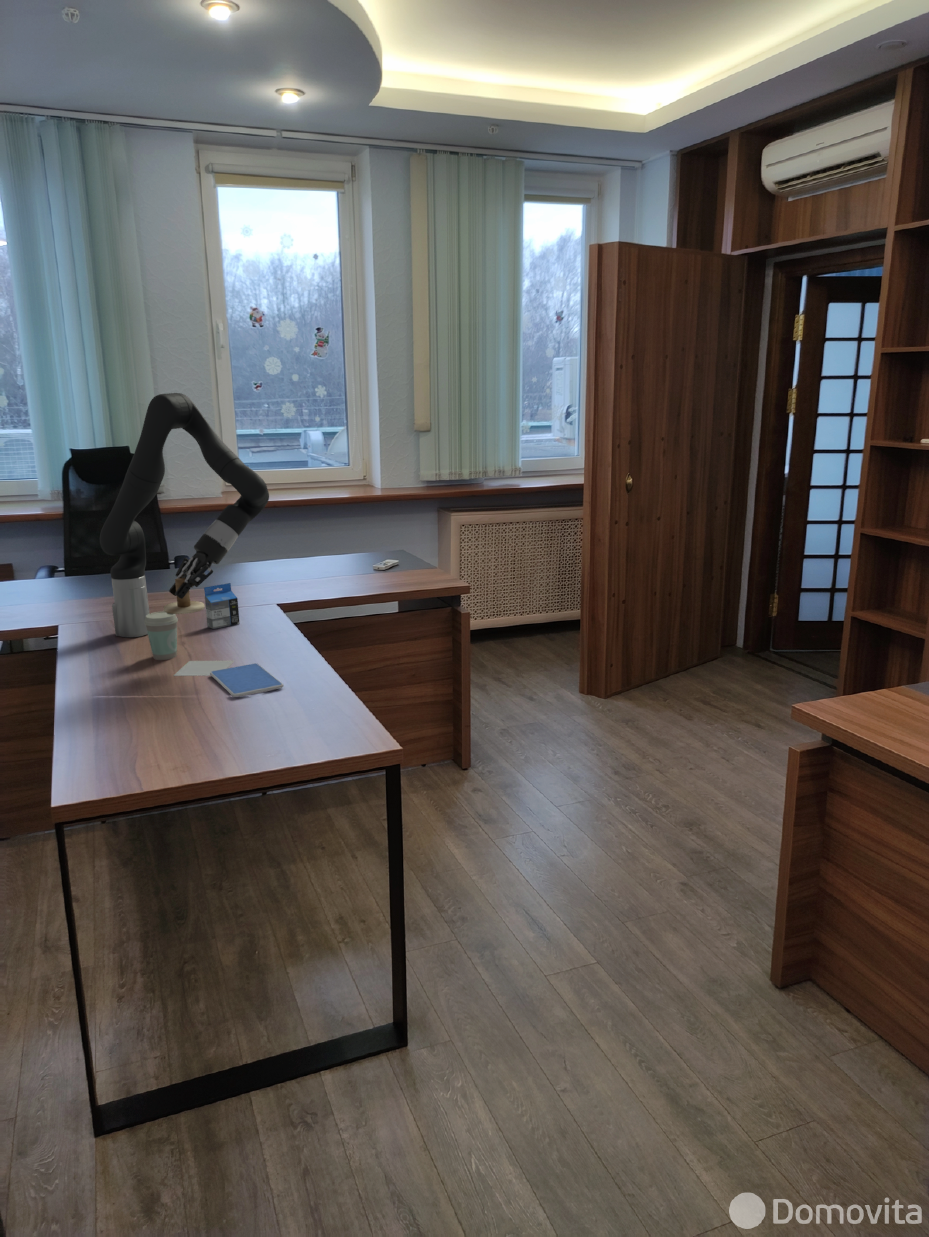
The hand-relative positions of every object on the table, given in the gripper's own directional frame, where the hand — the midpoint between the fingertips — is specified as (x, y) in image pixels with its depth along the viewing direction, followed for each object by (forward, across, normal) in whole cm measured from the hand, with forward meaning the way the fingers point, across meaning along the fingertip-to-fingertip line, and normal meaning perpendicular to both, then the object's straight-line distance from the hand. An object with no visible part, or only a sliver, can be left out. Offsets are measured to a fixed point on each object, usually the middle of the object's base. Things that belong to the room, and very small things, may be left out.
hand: (175, 595), depth 222 cm
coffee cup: (+14, -11, +14) cm, 22 cm away
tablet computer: (+9, +23, +18) cm, 31 cm away
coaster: (+11, +6, +16) cm, 20 cm away
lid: (+1, 0, +4) cm, 4 cm away
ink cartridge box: (-4, -30, +32) cm, 45 cm away
